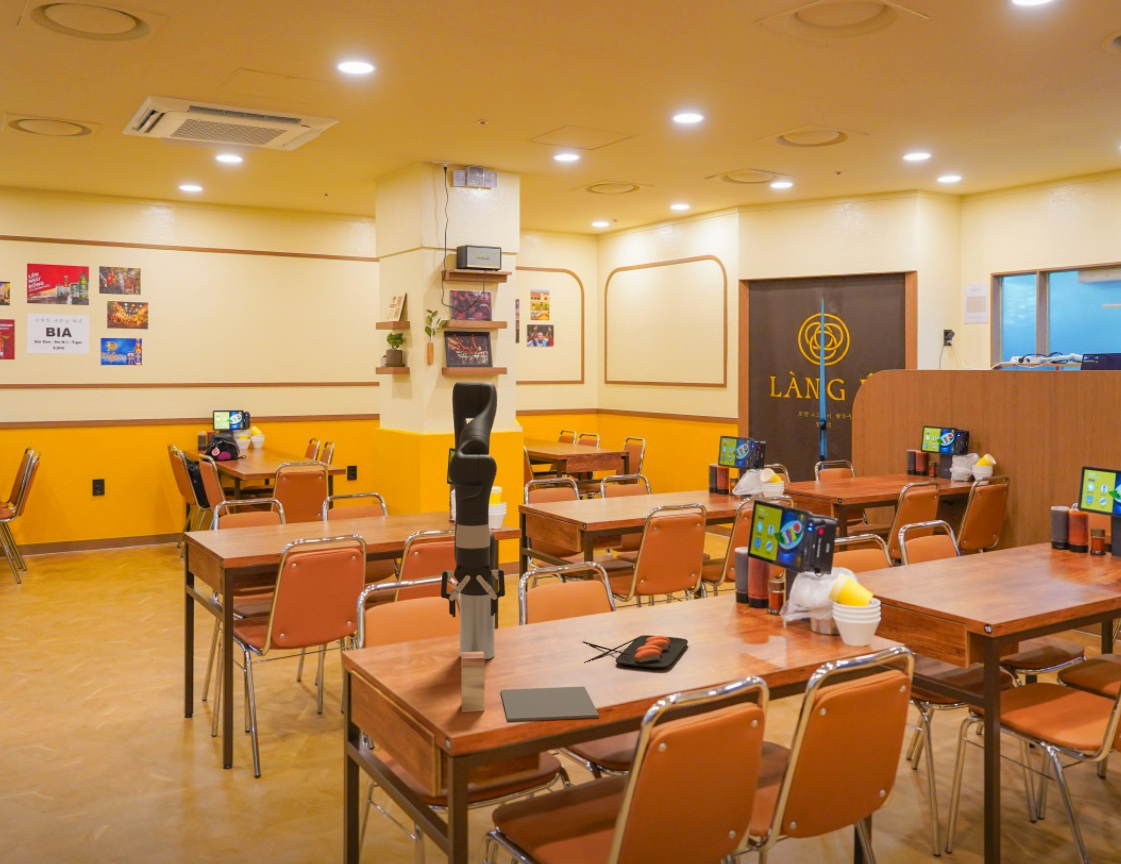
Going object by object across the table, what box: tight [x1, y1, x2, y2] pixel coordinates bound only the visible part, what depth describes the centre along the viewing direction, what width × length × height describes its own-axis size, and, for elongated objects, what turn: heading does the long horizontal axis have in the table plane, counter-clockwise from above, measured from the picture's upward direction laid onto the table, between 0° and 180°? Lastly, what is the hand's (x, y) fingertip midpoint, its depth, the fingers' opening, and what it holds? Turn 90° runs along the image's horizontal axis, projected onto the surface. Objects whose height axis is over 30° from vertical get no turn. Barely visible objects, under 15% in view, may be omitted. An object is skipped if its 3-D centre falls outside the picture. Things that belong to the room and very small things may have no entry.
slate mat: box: [500, 686, 600, 722], centre depth 222 cm, size 20×20×1 cm
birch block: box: [460, 652, 486, 713], centre depth 219 cm, size 5×5×12 cm
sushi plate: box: [582, 634, 689, 669], centre depth 265 cm, size 29×30×4 cm
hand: (472, 615), depth 219 cm, fingers open, 8 cm apart
